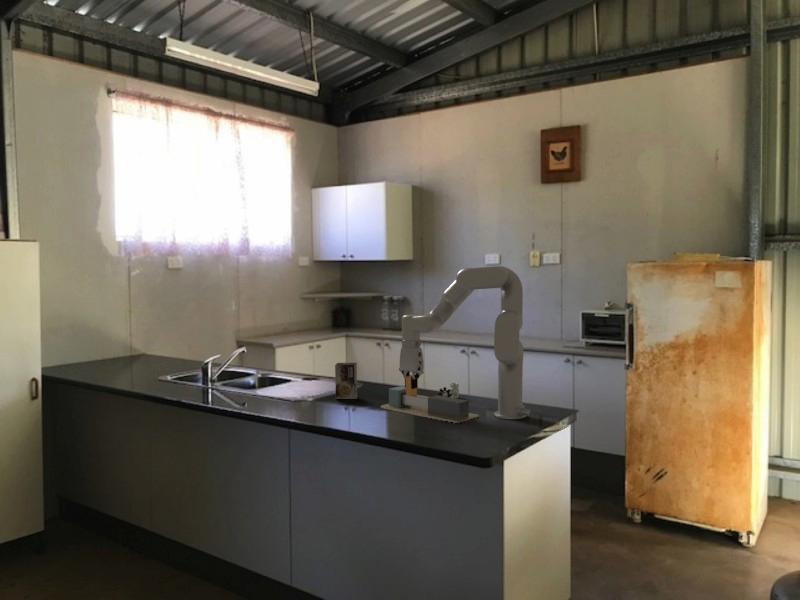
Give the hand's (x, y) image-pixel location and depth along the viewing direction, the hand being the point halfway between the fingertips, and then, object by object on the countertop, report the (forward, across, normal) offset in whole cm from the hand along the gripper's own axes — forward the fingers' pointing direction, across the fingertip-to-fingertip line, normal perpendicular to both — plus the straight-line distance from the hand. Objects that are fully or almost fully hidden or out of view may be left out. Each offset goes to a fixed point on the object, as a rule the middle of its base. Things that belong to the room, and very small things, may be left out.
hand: (411, 387), depth 268 cm
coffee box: (+9, +36, +4) cm, 38 cm away
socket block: (+8, +6, 0) cm, 10 cm away
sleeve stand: (+9, -9, 0) cm, 13 cm away
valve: (+10, 0, -26) cm, 28 cm away
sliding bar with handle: (+7, -5, 0) cm, 9 cm away
